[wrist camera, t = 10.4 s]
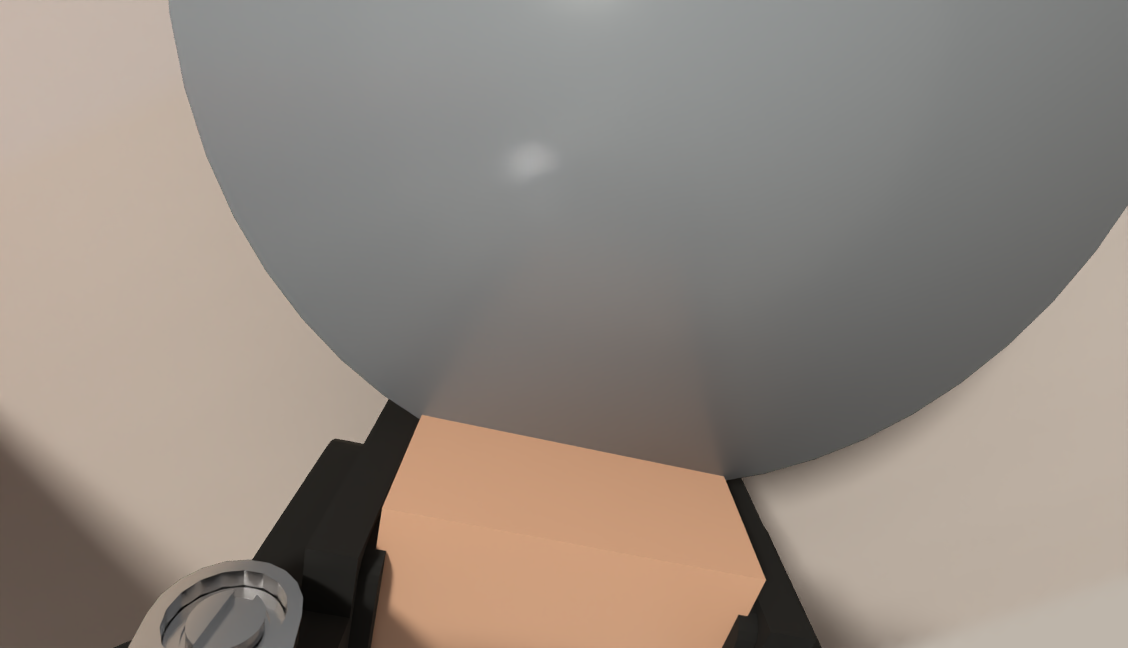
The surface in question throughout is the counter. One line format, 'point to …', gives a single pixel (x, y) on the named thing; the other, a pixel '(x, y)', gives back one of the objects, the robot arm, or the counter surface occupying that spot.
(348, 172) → the gray paddle
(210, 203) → the counter surface
